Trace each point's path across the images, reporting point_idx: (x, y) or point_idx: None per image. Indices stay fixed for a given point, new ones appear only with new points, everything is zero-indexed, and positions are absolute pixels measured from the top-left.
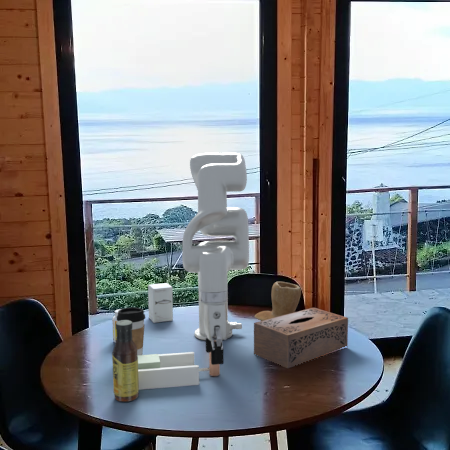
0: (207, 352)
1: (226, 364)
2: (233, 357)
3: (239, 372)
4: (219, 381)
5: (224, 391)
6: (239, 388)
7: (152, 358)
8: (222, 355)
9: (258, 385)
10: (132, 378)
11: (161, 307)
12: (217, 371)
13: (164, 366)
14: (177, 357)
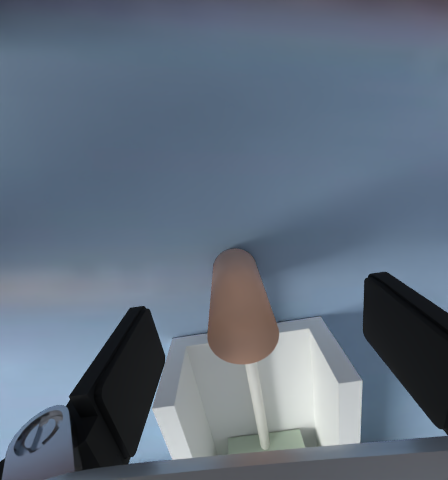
0: (161, 352)
1: (109, 217)
2: (10, 181)
3: (205, 154)
4: (299, 246)
5: (401, 226)
6: (389, 160)
7: None
8: (433, 310)
9: (378, 52)
10: None
11: None
12: (254, 264)
13: (208, 437)
14: (195, 443)
